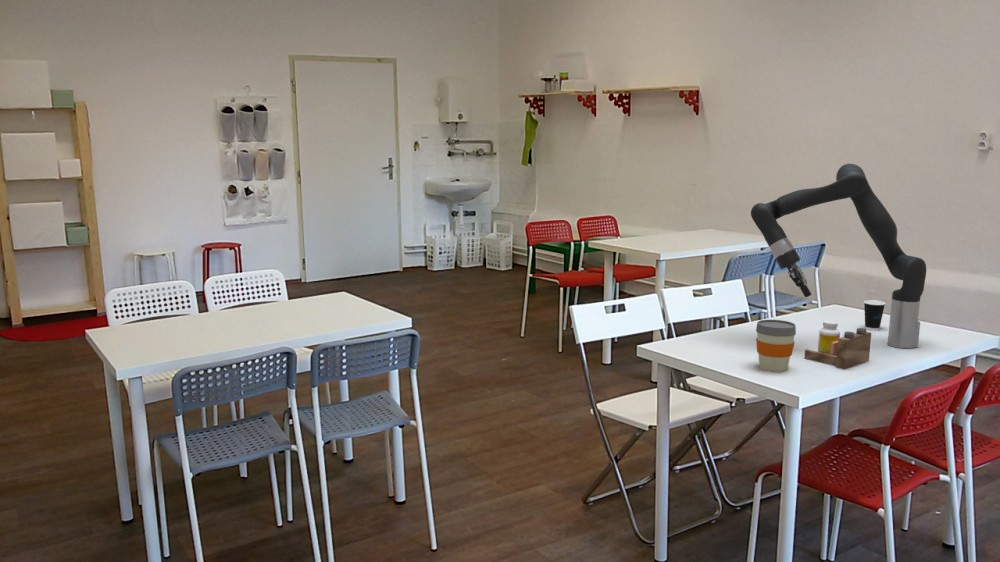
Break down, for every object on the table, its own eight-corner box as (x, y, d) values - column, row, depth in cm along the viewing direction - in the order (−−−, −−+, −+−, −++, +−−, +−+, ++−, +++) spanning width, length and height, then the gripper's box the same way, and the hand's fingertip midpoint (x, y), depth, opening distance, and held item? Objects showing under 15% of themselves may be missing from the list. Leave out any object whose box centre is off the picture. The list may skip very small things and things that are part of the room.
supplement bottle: (839, 361, 277) (842, 324, 274) (819, 360, 278) (821, 323, 276) (835, 356, 283) (838, 320, 281) (815, 355, 285) (818, 319, 282)
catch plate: (829, 359, 275) (830, 342, 274) (843, 355, 281) (844, 338, 279) (832, 360, 274) (834, 343, 273) (846, 356, 280) (847, 339, 279)
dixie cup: (865, 325, 328) (867, 299, 326) (885, 329, 322) (888, 302, 320) (858, 329, 322) (860, 302, 320) (879, 332, 317) (881, 305, 315)
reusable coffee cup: (759, 372, 263) (762, 328, 261) (749, 362, 276) (752, 319, 273) (798, 373, 263) (801, 328, 260) (786, 362, 275) (789, 319, 272)
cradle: (801, 359, 279) (804, 326, 277) (826, 351, 289) (829, 319, 287) (844, 369, 267) (847, 335, 265) (868, 361, 277) (871, 328, 275)
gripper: (778, 258, 297) (802, 300, 293) (770, 258, 285) (795, 301, 281) (797, 248, 293) (821, 290, 289) (790, 247, 282) (815, 291, 278)
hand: (808, 296), depth 285 cm, fingers closed
